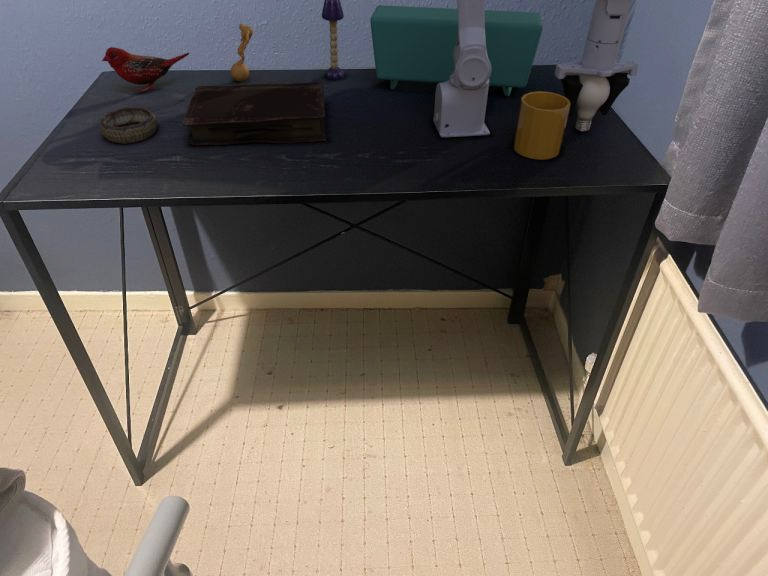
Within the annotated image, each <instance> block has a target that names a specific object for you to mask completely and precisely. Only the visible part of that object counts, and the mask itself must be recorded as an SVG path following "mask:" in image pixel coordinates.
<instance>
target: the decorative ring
mask: <svg viewBox="0 0 768 576" xmlns="http://www.w3.org/2000/svg"><path fill="white" fill-rule="evenodd" d="M158 125H159V124H158V119H157V116H156V115H155V114H154V113H153V112H152V111H150V110H149V109H146V108H143V107H135V106H134V107H133V106H132V107H123V108H117V109H115V110H113V111H110V112H108V113H106V114H105V115H103V116H102V118H101V119H100V122H99V127H100V128H99V129H100V130H99V131H100V133H101V135H102V136H103V137H104V138H105V139H106V140H107V141H109V142H111V143H114V144H124V145H125V144H134V143H139V142H142V141H145V140H147V139H149V138H151V137H153V136H154V135H155V134H156V132H157V131H158V127H159V126H158Z"/></svg>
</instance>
